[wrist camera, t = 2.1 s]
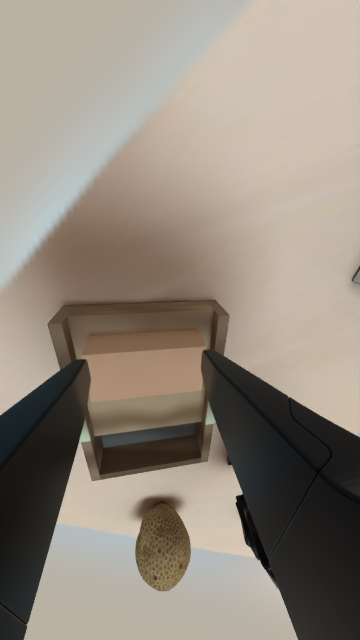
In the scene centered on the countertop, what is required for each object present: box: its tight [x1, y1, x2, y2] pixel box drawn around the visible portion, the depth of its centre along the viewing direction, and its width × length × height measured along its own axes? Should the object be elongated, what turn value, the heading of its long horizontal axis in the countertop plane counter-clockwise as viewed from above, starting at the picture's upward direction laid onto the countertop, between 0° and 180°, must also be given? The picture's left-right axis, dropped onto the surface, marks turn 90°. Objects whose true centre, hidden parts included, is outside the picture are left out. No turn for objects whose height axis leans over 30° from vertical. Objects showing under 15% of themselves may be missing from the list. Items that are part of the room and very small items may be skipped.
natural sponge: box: [135, 503, 191, 591], centre depth 34 cm, size 9×9×10 cm
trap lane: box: [48, 300, 229, 481], centre depth 24 cm, size 22×15×4 cm
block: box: [81, 330, 206, 403], centre depth 19 cm, size 5×10×3 cm, turn 88°
